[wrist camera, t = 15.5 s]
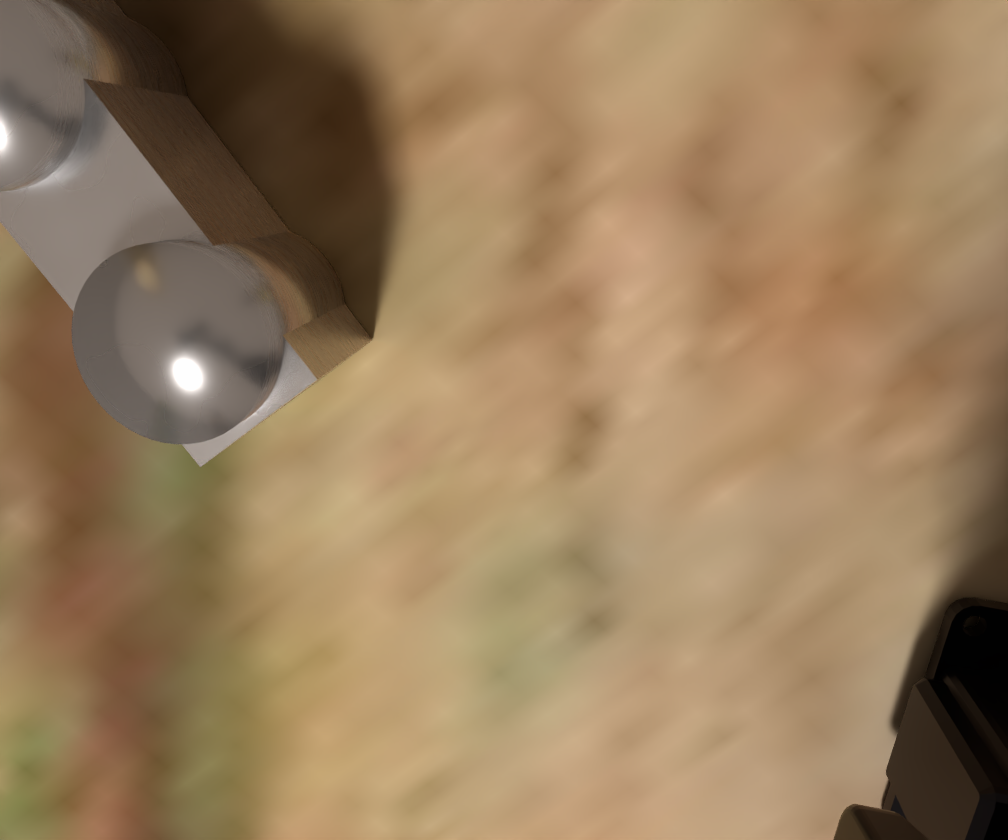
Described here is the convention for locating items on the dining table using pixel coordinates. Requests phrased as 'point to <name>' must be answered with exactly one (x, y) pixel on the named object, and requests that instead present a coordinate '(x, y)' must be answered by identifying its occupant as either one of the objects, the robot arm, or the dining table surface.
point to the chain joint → (155, 233)
